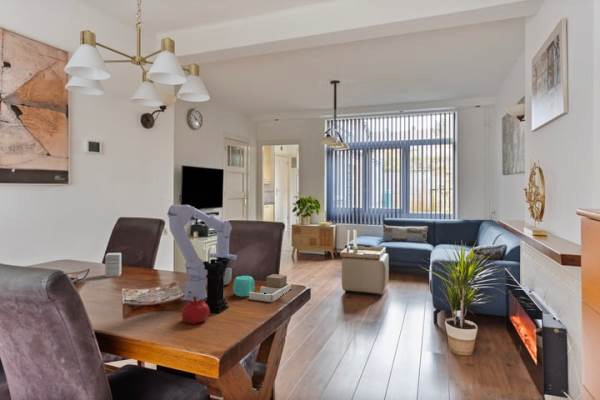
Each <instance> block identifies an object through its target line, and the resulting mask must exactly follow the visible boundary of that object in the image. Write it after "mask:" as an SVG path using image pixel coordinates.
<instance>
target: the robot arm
mask: <svg viewBox="0 0 600 400" xmlns="http://www.w3.org/2000/svg"><path fill="white" fill-rule="evenodd" d="M166 215H167V217H168V222H169V223H168V224H169V225H168V226H169V227H168V228H169V230H170V231H169V232H171V234H172V236H173V238H174V240H175V242H176V244H177V246H178V249H179V250H180V252H181V254H182V256H183V258H184V259H185V261H186V262H185V264H184V266H185V271H186V274H187V275H188V278H189V279H188V281H186V282H185V284H184V288H183V289H184V293H183V294H184V295H183V296H184V297H183V298H182V301H188V300H190V301H194V298H193V297H194V296H195V297H196V301H199V300H201V299H203V300H205V299H207V278H206V275H207V270H205V265H203V262H204V260H203V259H201V258H200V257H199V256H198V254H197V251H196V249H195V247H194V245H193V243H192V241H191V239H190V237H189V235H188V234H187V231H186V229H185V227H186V226H187V225H188V222H190V220H191V219H192V218H194V219H197V220H199V221H202V222H204V224H205V226H206V227H209V228H210V229H213V230H214V231H215V232H216V252H215V253H213V252H210V253H208V256H209V257H208V258H210V259H216V262H221V263H223V260H228V263H227V264H226V268H228V264H229V262H230V260H233V261H235V260H237V257H238V256H237V254H231V253H230V235H231V231H232V229H233V227H232V224H231V222H229V221H228V220H227V221H226V220H224V219H223V218H222V217H221V218H219V217H217V214H216V213H215V214H213V213H212V214H206V213H204V211H203V212H202V211H201V210H199V209H197V208H195V206H192V205H189V204H172V205H171V206H169V208H168V211H167V213H166ZM226 268H225V269H224V273H225V270H226ZM190 301H189V302H190Z"/></svg>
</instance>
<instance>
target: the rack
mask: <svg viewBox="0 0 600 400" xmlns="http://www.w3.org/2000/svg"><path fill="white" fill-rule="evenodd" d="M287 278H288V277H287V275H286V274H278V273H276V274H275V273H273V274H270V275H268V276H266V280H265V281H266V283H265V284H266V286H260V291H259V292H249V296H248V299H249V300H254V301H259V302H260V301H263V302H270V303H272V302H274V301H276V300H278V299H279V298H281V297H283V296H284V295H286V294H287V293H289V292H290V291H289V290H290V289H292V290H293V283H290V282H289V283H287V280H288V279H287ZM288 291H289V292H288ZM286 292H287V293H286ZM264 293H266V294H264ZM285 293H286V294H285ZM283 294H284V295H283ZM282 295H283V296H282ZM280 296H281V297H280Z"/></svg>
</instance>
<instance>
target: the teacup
mask: <svg viewBox="0 0 600 400" xmlns="http://www.w3.org/2000/svg"><path fill="white" fill-rule="evenodd" d="M232 273H233V269H232V268H231V267H226V270H225V273H224V274H225V276H224V286H228V284H229V283H230V282H231V281H232Z"/></svg>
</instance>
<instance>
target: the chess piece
mask: <svg viewBox="0 0 600 400" xmlns="http://www.w3.org/2000/svg"><path fill="white" fill-rule="evenodd" d="M216 259H217V258H210V261H206V260H205V261H204V260H203V261H204V262H203V265H205V270H207V275H206V278H207V279H206V295H207V298H206V300H203V301H204V302H205V303H207V305H208V306H209V309H210V313H209V314H222V312H224V311H226V310H228V309H229V305H228V302H227V298H224V288H225V287H224V286H225V285H224V276H225V274H224V269H225V268H227V267H226V264H227V263H228V264H229V262H228V260H223V263H221V262H216ZM228 264H227V265H228Z"/></svg>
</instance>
